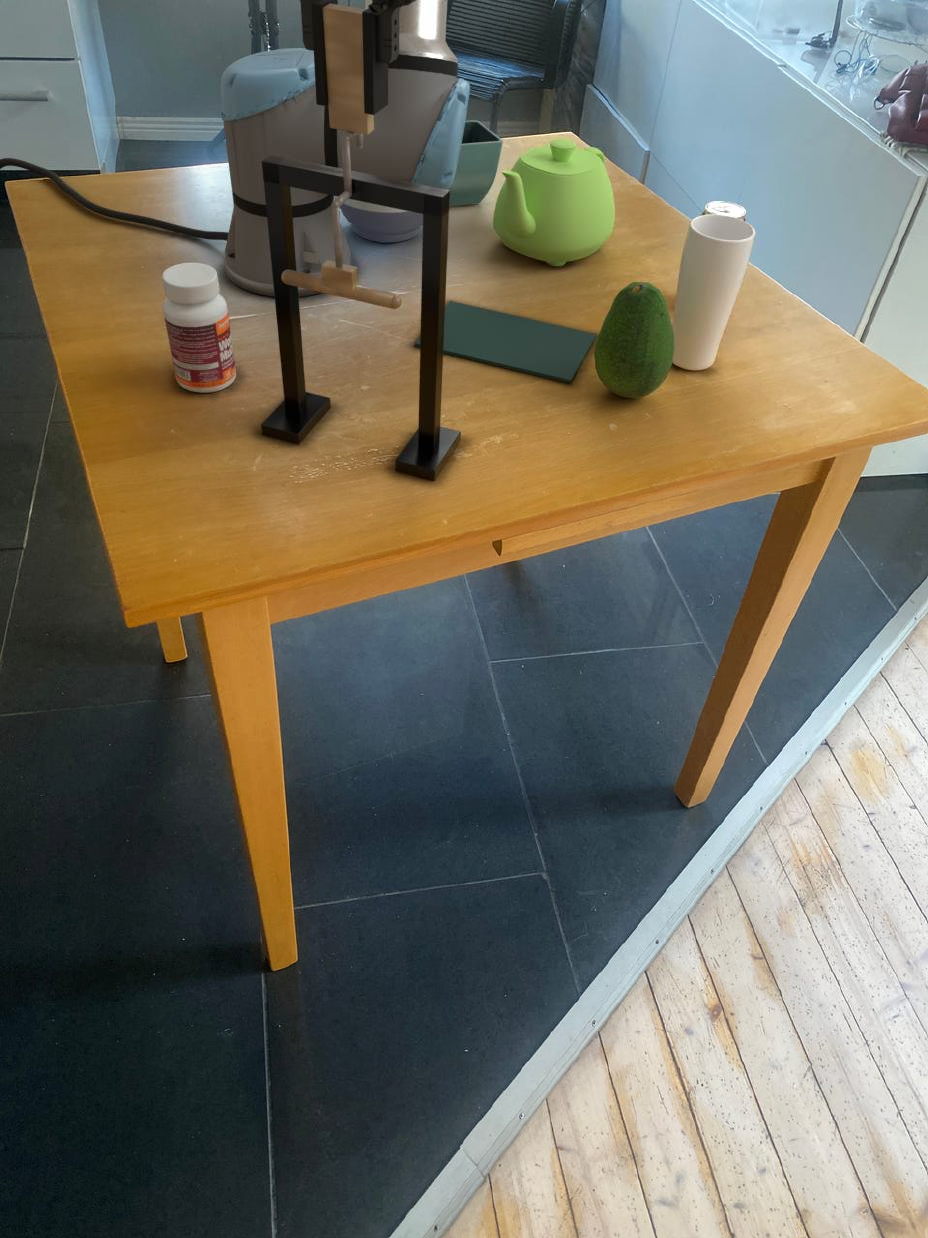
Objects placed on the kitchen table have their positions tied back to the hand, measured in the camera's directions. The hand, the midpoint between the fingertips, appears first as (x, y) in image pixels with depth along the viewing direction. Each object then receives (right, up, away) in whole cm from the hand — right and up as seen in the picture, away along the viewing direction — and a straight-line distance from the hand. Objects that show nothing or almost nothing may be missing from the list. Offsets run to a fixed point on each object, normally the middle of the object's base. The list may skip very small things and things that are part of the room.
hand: (352, 103), depth 71 cm
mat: (+13, -7, +36) cm, 39 cm away
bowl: (-2, +13, +55) cm, 57 cm away
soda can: (+37, -1, +44) cm, 58 cm away
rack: (-2, -21, +21) cm, 30 cm away
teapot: (+19, +10, +53) cm, 58 cm away
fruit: (+26, -15, +30) cm, 42 cm away
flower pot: (+8, +21, +64) cm, 67 cm away
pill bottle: (-18, -14, +27) cm, 36 cm away
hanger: (-1, -10, +9) cm, 14 cm away
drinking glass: (+34, -10, +35) cm, 50 cm away
